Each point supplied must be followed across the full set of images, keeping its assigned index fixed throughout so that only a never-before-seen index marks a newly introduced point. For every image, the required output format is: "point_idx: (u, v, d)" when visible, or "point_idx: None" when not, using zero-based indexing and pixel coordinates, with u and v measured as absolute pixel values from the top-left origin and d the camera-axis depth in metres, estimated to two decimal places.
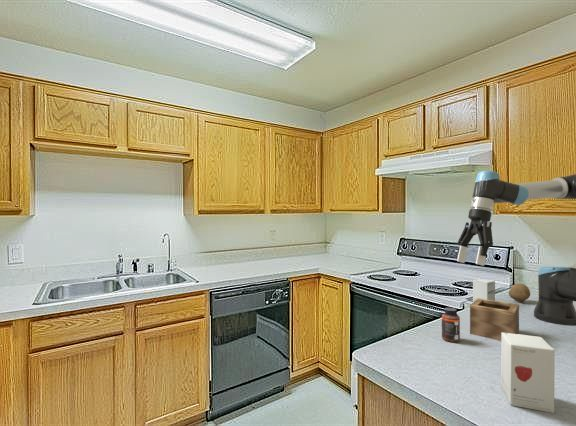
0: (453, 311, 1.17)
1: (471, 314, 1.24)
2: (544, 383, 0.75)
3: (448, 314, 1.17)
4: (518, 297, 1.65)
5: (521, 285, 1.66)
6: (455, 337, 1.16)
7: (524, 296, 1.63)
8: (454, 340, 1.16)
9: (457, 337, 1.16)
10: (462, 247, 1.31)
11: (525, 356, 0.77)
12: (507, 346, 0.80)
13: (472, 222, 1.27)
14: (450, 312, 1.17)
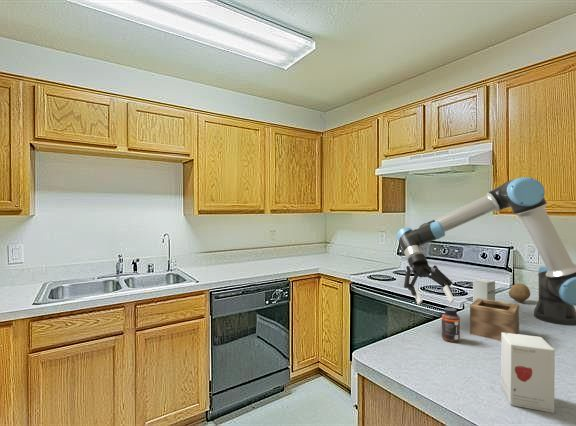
0: (453, 311, 1.17)
1: (471, 314, 1.24)
2: (544, 383, 0.75)
3: (448, 314, 1.17)
4: (518, 297, 1.65)
5: (521, 285, 1.66)
6: (455, 337, 1.16)
7: (524, 296, 1.63)
8: (454, 340, 1.16)
9: (457, 337, 1.16)
10: (444, 289, 1.32)
11: (525, 356, 0.77)
12: (507, 346, 0.80)
13: None
14: (450, 312, 1.17)
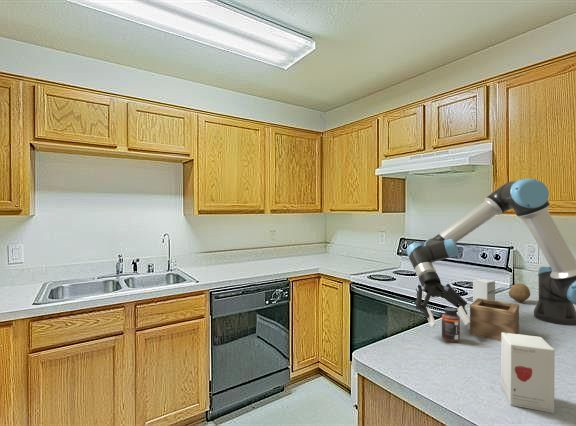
0: (453, 311, 1.17)
1: (471, 314, 1.24)
2: (544, 383, 0.75)
3: (448, 314, 1.17)
4: (518, 297, 1.65)
5: (521, 285, 1.66)
6: (455, 337, 1.16)
7: (524, 296, 1.63)
8: (454, 340, 1.16)
9: (457, 337, 1.16)
10: (458, 310, 1.24)
11: (525, 356, 0.77)
12: (507, 346, 0.80)
13: None
14: (450, 312, 1.17)
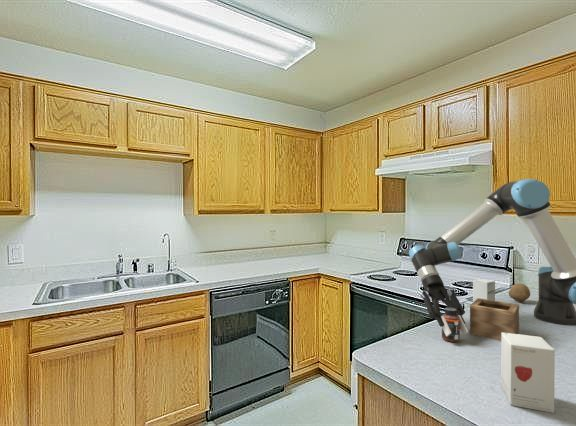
0: (453, 311, 1.17)
1: (471, 314, 1.24)
2: (544, 383, 0.75)
3: (448, 314, 1.17)
4: (518, 297, 1.65)
5: (521, 285, 1.66)
6: (455, 336, 1.16)
7: (524, 296, 1.63)
8: (454, 340, 1.16)
9: (457, 337, 1.16)
10: None
11: (525, 356, 0.77)
12: (507, 346, 0.80)
13: None
14: (450, 312, 1.17)
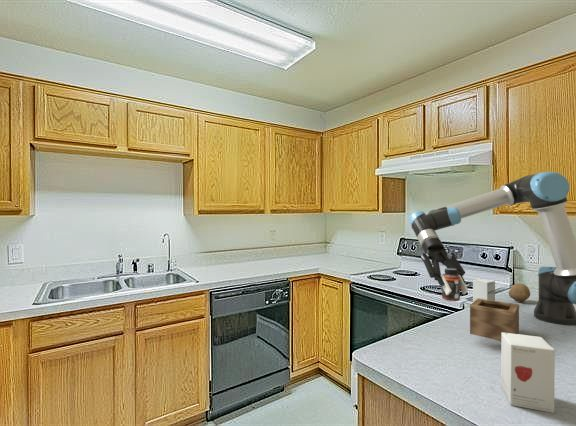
0: (453, 270, 1.17)
1: (471, 314, 1.24)
2: (544, 383, 0.75)
3: (448, 274, 1.18)
4: (518, 297, 1.65)
5: (521, 285, 1.66)
6: (456, 295, 1.16)
7: (524, 296, 1.63)
8: (454, 299, 1.16)
9: (457, 296, 1.16)
10: None
11: (525, 356, 0.77)
12: (507, 346, 0.80)
13: None
14: (450, 271, 1.17)
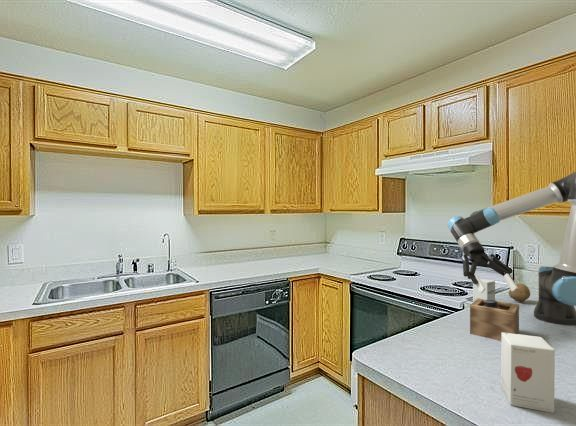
0: (494, 303, 1.23)
1: (471, 314, 1.24)
2: (544, 383, 0.75)
3: (489, 306, 1.24)
4: (518, 297, 1.65)
5: (521, 285, 1.66)
6: None
7: (524, 296, 1.63)
8: None
9: None
10: (504, 277, 1.28)
11: (525, 356, 0.77)
12: (507, 346, 0.80)
13: None
14: (491, 304, 1.23)
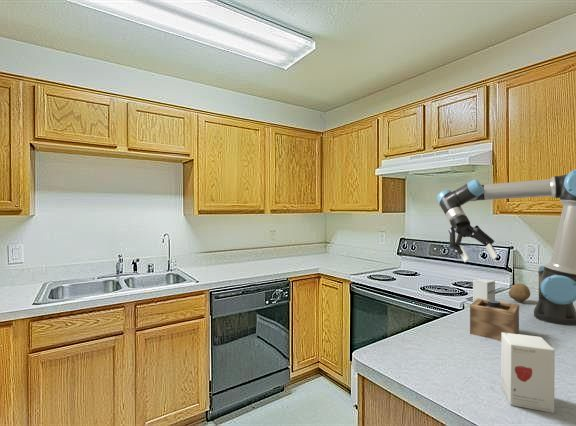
0: (497, 303, 1.23)
1: (471, 314, 1.24)
2: (544, 383, 0.75)
3: (492, 306, 1.24)
4: (518, 297, 1.65)
5: (521, 285, 1.66)
6: None
7: (524, 296, 1.63)
8: None
9: None
10: (486, 247, 1.40)
11: (525, 356, 0.77)
12: (507, 346, 0.80)
13: None
14: (494, 304, 1.23)
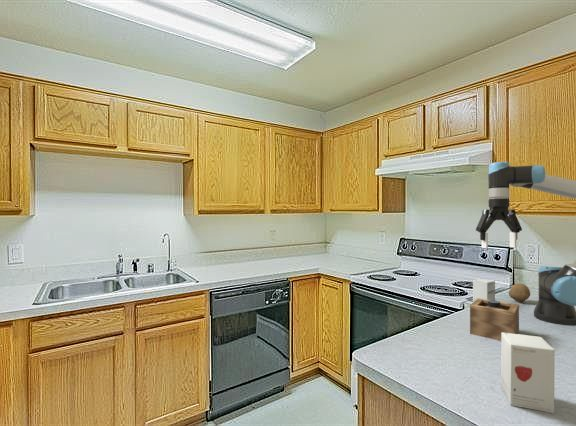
0: (497, 303, 1.23)
1: (471, 314, 1.24)
2: (544, 383, 0.75)
3: (492, 306, 1.24)
4: (518, 297, 1.65)
5: (521, 285, 1.66)
6: None
7: (524, 296, 1.63)
8: None
9: None
10: (510, 233, 1.40)
11: (525, 356, 0.77)
12: (507, 346, 0.80)
13: None
14: (494, 304, 1.23)
